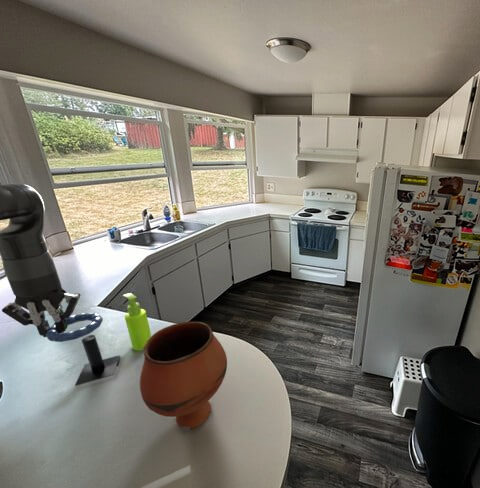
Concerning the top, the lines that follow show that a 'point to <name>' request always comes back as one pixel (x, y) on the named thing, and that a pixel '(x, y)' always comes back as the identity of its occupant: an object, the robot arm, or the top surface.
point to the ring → (62, 337)
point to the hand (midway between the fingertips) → (54, 333)
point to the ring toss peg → (96, 362)
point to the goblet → (182, 372)
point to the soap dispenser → (137, 323)
